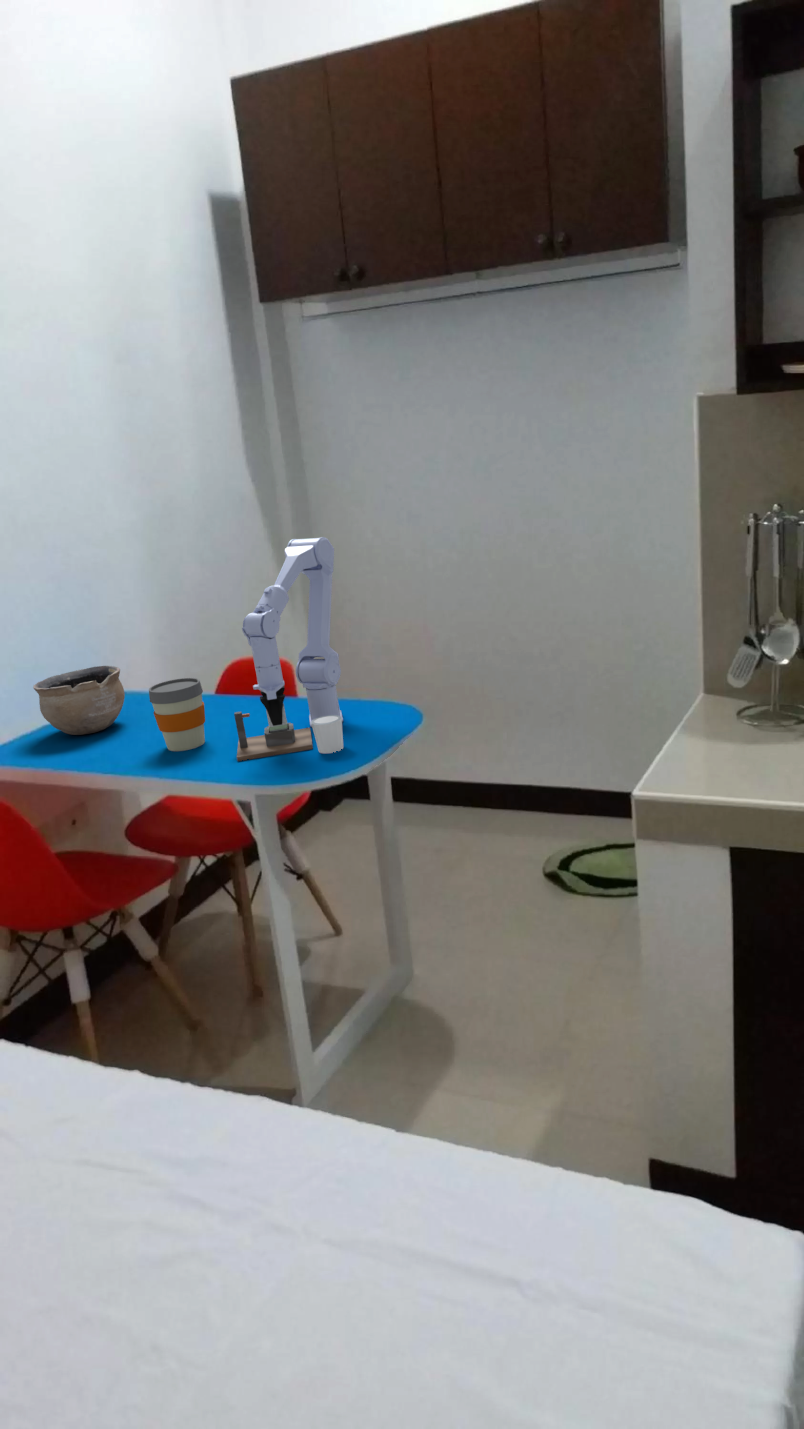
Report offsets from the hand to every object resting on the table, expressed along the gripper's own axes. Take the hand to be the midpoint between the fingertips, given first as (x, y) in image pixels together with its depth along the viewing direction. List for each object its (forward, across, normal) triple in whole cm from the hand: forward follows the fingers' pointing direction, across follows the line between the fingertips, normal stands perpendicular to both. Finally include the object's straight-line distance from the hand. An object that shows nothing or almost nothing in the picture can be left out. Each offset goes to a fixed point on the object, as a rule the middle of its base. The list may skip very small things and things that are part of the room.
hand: (277, 721), depth 249 cm
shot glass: (+6, +9, +11) cm, 16 cm away
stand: (+6, 0, -1) cm, 6 cm away
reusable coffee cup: (+6, -13, -23) cm, 27 cm away
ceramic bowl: (+6, -42, -51) cm, 66 cm away
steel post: (+4, 0, 0) cm, 4 cm away
